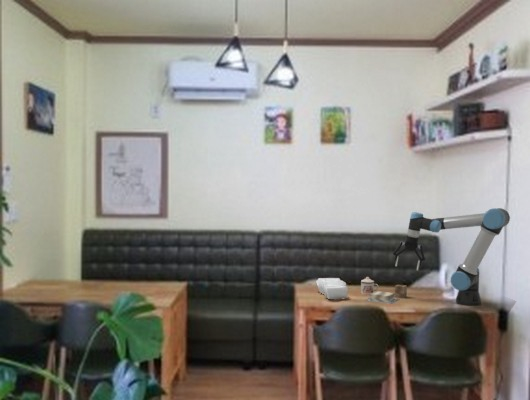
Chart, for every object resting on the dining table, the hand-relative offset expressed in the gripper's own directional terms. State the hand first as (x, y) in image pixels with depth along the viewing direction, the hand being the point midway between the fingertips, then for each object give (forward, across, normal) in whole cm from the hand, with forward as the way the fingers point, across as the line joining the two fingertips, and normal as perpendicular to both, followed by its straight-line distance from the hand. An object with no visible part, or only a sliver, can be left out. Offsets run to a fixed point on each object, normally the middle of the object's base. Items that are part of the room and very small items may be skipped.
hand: (406, 268), depth 357 cm
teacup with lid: (+24, +20, -8) cm, 32 cm away
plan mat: (+22, +12, +11) cm, 27 cm away
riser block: (+21, +12, +11) cm, 27 cm away
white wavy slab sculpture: (+28, +44, +4) cm, 52 cm away
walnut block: (+21, 0, -2) cm, 21 cm away
